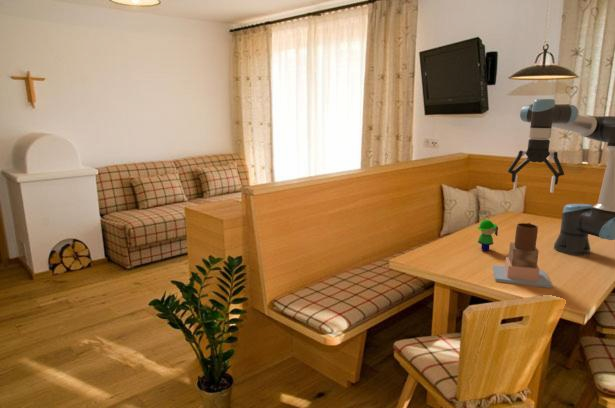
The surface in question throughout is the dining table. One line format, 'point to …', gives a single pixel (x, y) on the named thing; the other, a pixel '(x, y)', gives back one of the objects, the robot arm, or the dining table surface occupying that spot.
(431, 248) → the dining table surface
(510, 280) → the plate
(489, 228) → the toy
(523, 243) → the mug
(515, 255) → the walnut block
